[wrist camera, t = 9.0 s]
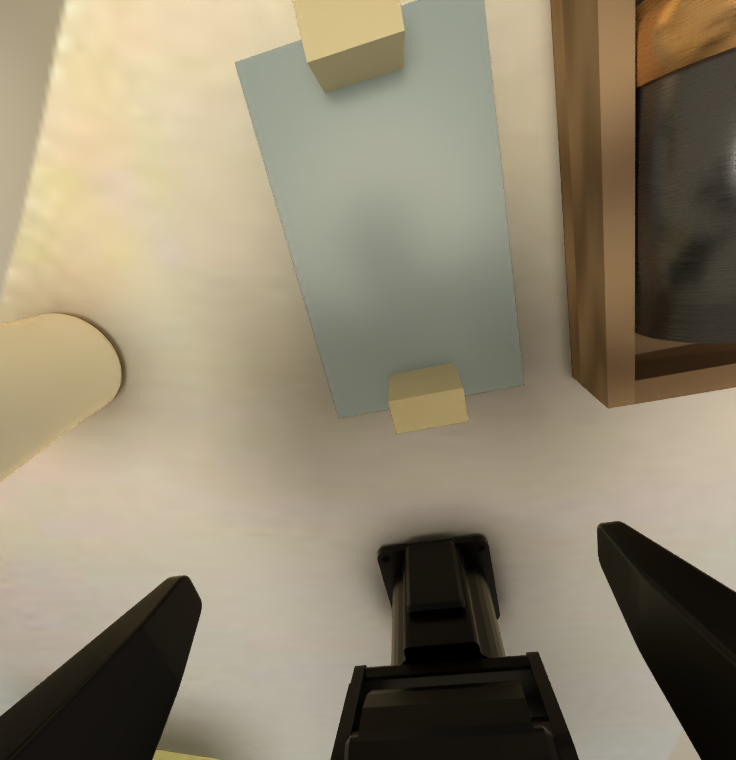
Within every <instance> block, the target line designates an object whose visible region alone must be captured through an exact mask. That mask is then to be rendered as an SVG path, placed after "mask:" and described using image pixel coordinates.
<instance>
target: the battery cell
mask: <svg viewBox="0 0 736 760" xmlns="http://www.w3.org/2000/svg"><path fill="white" fill-rule="evenodd" d="M635 333H636V334H639V335H642V336H645V337H649V338H653V339H658V340H665V341H673V342H685V343H732V342H736V0H635Z"/></svg>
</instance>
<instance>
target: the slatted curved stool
mask: <svg viewBox="0 0 736 760" xmlns="http://www.w3.org/2000/svg"><path fill="white" fill-rule="evenodd" d="M152 760H220V759H213V758H207V757H201V756H194V755H188V754H181V753H175V752H169V751H162V750H156V751H155V754H154V757H153V759H152Z"/></svg>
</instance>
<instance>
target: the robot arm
mask: <svg viewBox="0 0 736 760" xmlns="http://www.w3.org/2000/svg"><path fill="white" fill-rule="evenodd" d="M597 542H598V557H599V562H600V565H601V567H602V570H603V572H604V574H605V576H606V579H607V581H608V583H609V585H610V587H611V590H612V592H613V594H614V596H615V599H616V601H617V603H618V605H619V607H620V610H621V612H622V614H623V616H624V619H625V621H626V623H627V625H628V627H629V630H630V632H631V634H632V636H633V638H634V641H635V643H636V645H637V647H638V649H639V651H640V653H641V655H642V656H643V658H644V660H645V662H646V664H647V666H648V667H649V669H650V671H651V673H652V674H653V676H654V678H655V680H656V681H657V683H658V685H659V687H660V688H661V690H662V692H663V694H664V695H665V697H666V699H667V701H668V702H669V704H670V706H671V708H672V709H673V711H674V713H675V715H676V716H677V718H678V720H679V722H680V723H681V725H682V727H683V729H684V730H685V732H686V734H687V736H688V737H689V739H690V741H691V742H692V744H693V746H694V748H695V749H696V751H697V753H698V755H699V756H700V758H701V760H736V592H735V591H733V590H732V589H730V588H728V587H727V586H725V585H724V584H722V583H720V582H719V581H717V580H715V579H714V578H712V577H711V576H709V575H707V574H706V573H704V572H702V571H701V570H699V569H698V568H696V567H694V566H693V565H691V564H690V563H688V562H686V561H685V560H683V559H681V558H680V557H678V556H677V555H675V554H673V553H672V552H670V551H668V550H667V549H665V548H664V547H662V546H660V545H659V544H657V543H656V542H654V541H652V540H651V539H649V538H647V537H646V536H644V535H643V534H641V533H639V532H638V531H636V530H634V529H633V528H631V527H630V526H628V525H626V524H625V523H623V522H620V521H614V522H606V523H600V524H599V525H598V527H597ZM478 544H482V545H480V546H477V545H478ZM384 556H388V557H384ZM378 563H379V566H380V570H381V573H382V576H383V580H384V583H385V586H386V590H387V593H388V597H389V600H390V603H391V607H392V654H391V666H378V667H367V666H366V665H362V666H355V668H354V672H353V676H352V680H351V683H350V684H349V687H348V691H347V695H346V699H345V703H344V707H343V711H342V715H341V719H340V723H339V727H338V731H337V735H336V739H335V743H334V747H333V752H332V756H331V760H579V758H578V755H577V752H576V749H575V746H574V744H573V741H572V738H571V735H570V733H569V730H568V728H567V725H566V722H565V720H564V717H563V715H562V712H561V709H560V707H559V704H558V702H557V699H556V697H555V694H554V691H553V689H552V686H551V684H550V681H549V679H548V676H547V673H546V671H545V668H544V666H543V663H542V661H541V658H540V655H539V653H538V652H528V653H526V655H520V656H507V657H506V656H505V652H504V647H503V643H502V639H501V635H500V631H499V627H498V623H497V619H498V618H499V617H500V612H499V606H498V600H497V594H496V588H495V582H494V576H493V569H492V563H491V557H490V551H489V546H488V542H487V539H486V538H485V537H483V536H470V537H462V538H454V539H446V540H438V541H430V542H422V543H414V544H406V545H398V546H391V547H384V548H381V549H380V550H379V551H378ZM201 609H202V602H201V599H200V597H199V595H198V593H197V591H196V589H195V587H194V585H193V583H192V581H191V580H190V578H189V577H188V576H185V575H182V576H174V577H170V578H168V579H166V580H165V581H164V582H163V583H161V584H160V585H159V586H158V587H157V588H155V589H154V590H153V591H152V592H151V593H149V594H148V595H147V596H146V597H144V598H143V599H142V600H141V601H140V602H138V603H137V604H136V605H135V606H134V607H132V608H131V609H130V610H129V611H127V612H126V613H125V614H124V615H123V616H121V617H120V618H119V619H118V620H117V621H115V622H114V623H113V624H112V625H110V626H109V627H108V628H107V629H106V630H104V631H103V632H102V633H101V634H100V635H98V636H97V637H96V638H95V639H94V640H92V641H91V642H90V643H89V644H87V645H86V646H85V647H84V648H83V649H81V650H80V651H79V652H78V653H77V654H75V655H74V656H73V657H72V658H70V659H69V660H68V661H67V662H66V663H64V664H63V665H62V666H61V667H60V668H58V669H57V670H56V671H55V672H54V673H52V674H51V675H50V676H49V677H47V678H46V679H45V680H44V681H43V682H41V683H40V684H39V685H38V686H37V687H35V688H34V689H33V690H32V691H30V692H29V693H28V694H27V695H26V696H24V697H23V698H22V699H21V700H20V701H18V702H17V703H16V704H15V705H13V706H12V707H11V708H10V709H9V710H7V711H6V712H5V713H4V714H3V715H1V716H0V760H152V759H153V757H154V754H155V751H156V749H157V746H158V743H159V741H160V738H161V735H162V733H163V730H164V727H165V725H166V722H167V719H168V717H169V714H170V711H171V709H172V706H173V703H174V701H175V698H176V695H177V692H178V689H179V687H180V683H181V680H182V677H183V674H184V670H185V667H186V663H187V660H188V656H189V653H190V649H191V646H192V642H193V639H194V635H195V632H196V628H197V624H198V621H199V617H200V614H201Z"/></svg>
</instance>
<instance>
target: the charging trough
mask: <svg viewBox="0 0 736 760" xmlns="http://www.w3.org/2000/svg"><path fill="white" fill-rule="evenodd" d="M551 15H552V32H553V49H554V66H555V84H556V101H557V118H558V135H559V152H560V170H561V187H562V204H563V221H564V238H565V256H566V273H567V290H568V307H569V324H570V342H571V359H572V376H573V378H574V379H575V380H577V381H578V382H579V383H580V384H581V385H582V386H583V387H584V388H586V389H587V390H588V391H589V392H590V393H591V394H592V395H593V396H595V397H596V398H597V399H598V400H599V401H600V402H601V403H602V404H604V405H605V406H606V407H607V408H613V407H619V406H625V405H631V404H637V403H643V402H649V401H655V400H662V399H668V398H674V397H680V396H686V395H692V394H698V393H704V392H710V391H716V390H722V389H728V388H734V387H736V342H732V343H685V342H673V341H665V340H658V339H653V338H649V337H645V336H642V335H639V334H636V333H635V0H551Z"/></svg>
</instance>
